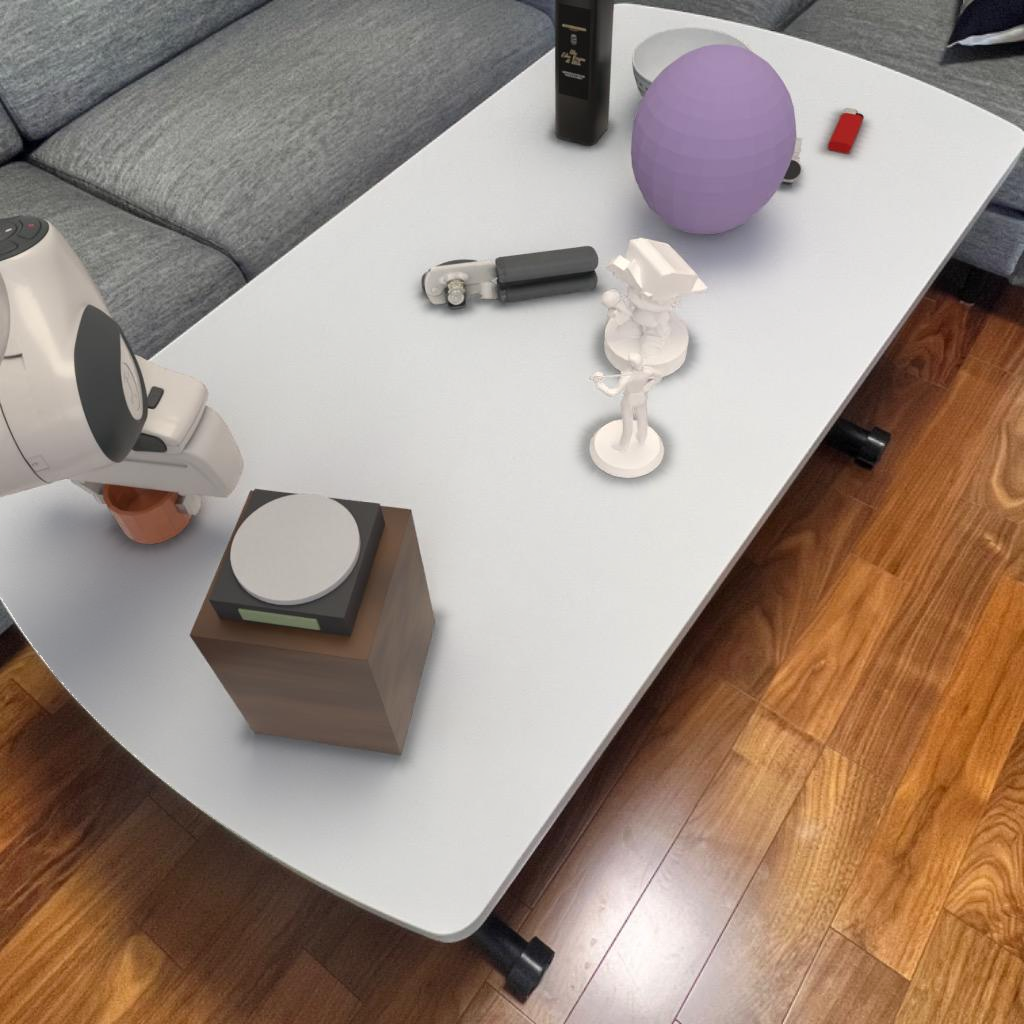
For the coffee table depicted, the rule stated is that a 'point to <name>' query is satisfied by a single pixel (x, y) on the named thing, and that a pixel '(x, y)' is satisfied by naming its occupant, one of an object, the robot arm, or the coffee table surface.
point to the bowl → (145, 513)
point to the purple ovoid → (713, 139)
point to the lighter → (846, 131)
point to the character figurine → (648, 306)
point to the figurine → (628, 425)
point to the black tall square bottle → (582, 68)
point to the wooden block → (333, 656)
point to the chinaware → (672, 50)
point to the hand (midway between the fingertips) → (151, 503)
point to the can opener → (512, 276)
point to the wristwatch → (794, 164)
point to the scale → (299, 562)
